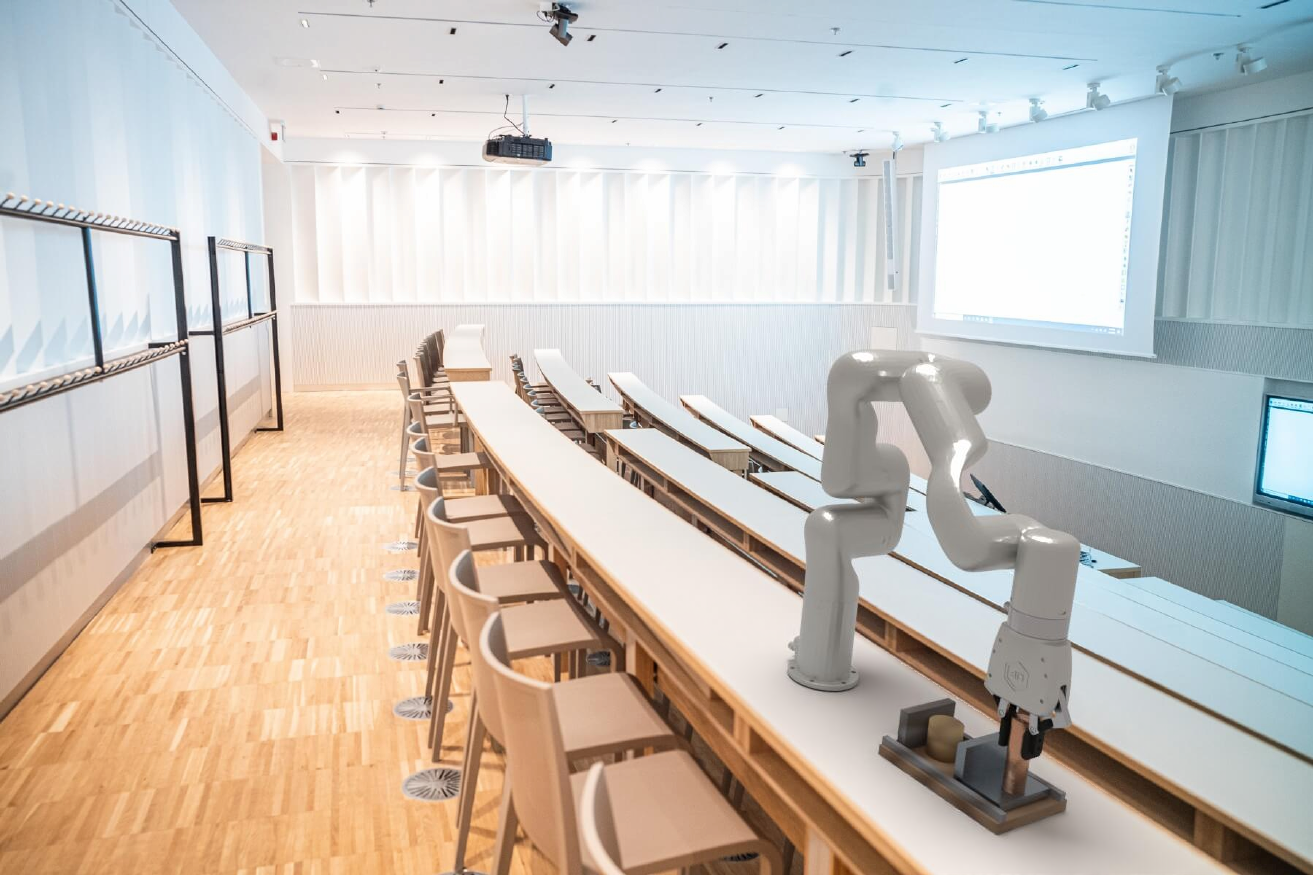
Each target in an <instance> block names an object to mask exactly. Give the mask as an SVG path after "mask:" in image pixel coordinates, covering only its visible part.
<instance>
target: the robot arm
mask: <svg viewBox="0 0 1313 875" xmlns="http://www.w3.org/2000/svg"><path fill="white" fill-rule="evenodd" d="M992 389H993V388H992V385H991V381H990V379H989V377H988V375H987V374H986V372H985V371H984V370H983V369H982V367H980V366H978V365H977V364H975V363H973V362H970V361H965V360H962V359H957V358H952V357H949V356H946V355H945V356H944V355H941V354H937V353H933V352H928V351H921V350H920V351H919V350H901V349H900V350H895V349H884V348H883V349H879V348H877V349H876V348H872V349H871V348H870V349H867V348H866V349H858V350H852V351H848V352H846V353H844V354H842V355H841V356H839V357H838V358H836V360H835V361H834V362H833V364H832V365H831V368H830V370H829V373H828V376H827V381H826V402H827V424H826V430H825V436H824V442H823V443H824V445H823V453H822V459H821V465H820V466H821V468H820V484H821V488H822V490H823V491H824V492H825V494H827V495H828V496H829V497H832V498H834V499H840V500H841V499H842V500H844V499H845V500H847V499H848V500H851V499H853V500H857V499H865V501H864V502H861V503H860V502H858V503H856V502H855V503H853V502H851V503H850V502H849V503H835V504H828V505H824V506H819V507H817V508H816V509H814V510H812V511H811V512H810V513H809V515H808V516H807V517H806V519H805V523H804V526H803V529H804V530H803V537H804V545H805V546H804V547H805V548H804V549H805V576H804V578H805V579H804V586H803V587H804V588H803V598H802V607H801V608H802V609H801V619H800V629H799V635H797V636H795V638H794V639H793V641H789V642H788V644H787V648H789V649H790V650H791V651H793V652H794V658H793V659H791V660H790V661H789V662H788V664H787V670H786V671H787V674H788V675H789V677H790V678H791V679H792V680H794V681H795V682H796V683H798V684H800V685H802V686H805V687H808V688H812V689H815V690H820V691H827V692H828V691H829V692H830V691H831V692H841V691H846V690H849V689H852V688H854V687H855V686H857V685H858V684H859V677H860V675H859V672H858V671H857V669H856V668H855V667H853V665H852V660H853V650H854V644H855V642H854V641H855V633H856V632H855V631H856V625H857V615H858V607H859V606H858V605H859V597H860V580H859V576H858V574H857V572H856V570H855V568H854V566H853V564H852V560H853V559H854V560H855V559H860V558H867V557H868V558H869V557H877V556H879V557H880V556H885V555H887V554H890V553H892V552H893V551H894V550H895V549H896V548H897V547H898V545H899V543H900V541H901V538H902V534H903V528H904V523H905V516H906V511H907V510H906V508H907V503H908V499H909V498H908V496H909V491H910V483H911V470H910V464H909V460H908V458H907V456H906V455H905V453H904V452H903V450H902V449H901V448H900V447H898V446H896V444H892V443H888V442H887V443H886V442H877V436H878V431H879V420H878V416H877V412H876V410H875V408H874V406H873V404H872V402H888V403H902V404H903V405H904V408H905V411H906V413H907V415H908V417H909V419H910V422H911V424H912V426H913V427H914V429H915V432H916V434H917V435H918V438H919V440H920V442H921V445H922V446H923V449H924V451H925V453H926V455H927V457H928V459H929V462H930V465H931V470H930V473H929V476H928V479H927V482H926V484H927V485H926V488H925V489H926V491H925V492H926V493H925V505H926V506H925V508H926V514H927V518H928V520H929V524H930V526H931V528H932V531H933V533H934V535H935V537H936V539H937V541H938V544H939V546H940V548H941V550H942V552H943V553H944V555H945V556H946V557H947V559H948V560H949V561H950V563H951V564H953V566H954V567H956V568H958V569H959V570H961V571H963V572H967V573H981V572H982V573H983V572H992V571H1000V570H1014V571H1013V578H1012V583H1011V584H1012V585H1011V591H1010V600H1009V601H1007V600H1006V601H1005V602H1004V604H1003V610H1004V611H1006V612H1007V620H1005V621H1003V622H1001V624H1000V627H999V628H998V631H997V634H996V636H995V639H994V641H993V642H994V643H993V645H992V649H991V653H990V657H989V661H988V665H987V672H986V679H985V680H984V682H983V686H984V687H985V688H986V690H987V691H988V692H989V693H990V695H991V696H992V698H993V700H994V702H995V705H996V706H997V715H998V717H1000V723H999V725H1000V726H999V729H998V730H999V731H998V732H999V741H998V745H1000V746H1002V747H1005V746H1008V739H1009V732H1010V725H1011V718H1012V715H1013V714H1019V709H1021V710H1024V711H1025V712H1027V713H1029V716H1030V721H1029V730H1028V731H1025V733H1024V739H1023V746H1022V752H1021V757H1022V759H1024V760H1030V761H1031V760H1034V759H1036V758H1039V757H1040V756H1041V754H1042V753H1043V748H1044V741H1045V735H1046V732H1049V731H1050V730H1053V729H1063V728H1067V727H1068V728H1069V727H1071V726H1072V724H1073V722H1072V718H1071V715H1070V711H1069V707H1068V706H1069V701H1070V695H1071V687H1072V677H1073V676H1072V674H1073V673H1072V672H1073V651H1072V650H1073V649H1072V643H1071V640H1070V639H1068V637H1069V636H1068V635H1069V630H1070V625H1071V624H1070V623H1071V618H1072V612H1073V604H1074V598H1075V592H1076V587H1077V586H1076V583H1077V578H1078V573H1079V572H1078V571H1079V566H1080V560H1081V554H1082V553H1081V552H1082V548H1081V543H1080V541H1079V540H1078V538H1077V537H1075V536H1074V535H1073V534H1070V533H1068V532H1066V531H1063V530H1057V529H1052V528H1049V527H1048V526H1045V524H1043V523H1041V522H1039V521H1037V520H1036V519H1034V518H1033V517H1031V516H1027V515H1025V514H1020V513H1008V514H1007V513H1006V514H1005V513H1004V514H987V515H974V512H972V509H971V508H970V505H969V503H968V501H967V499H966V495H965V494H964V490H963V486H962V476H963V472H964V471H966V470H968V469H970V467H972V466H973V465H975V464H976V463H978V462H979V461H981V459H983V458H984V457H985V455H986V454H987V451H988V449H989V440H988V438H987V436H986V435H985V432H984V431H983V429H982V427H981V425H980V423H979V422H978V419H977V417H976V416H977V415H979V414H982V413H983V412H984V411H986V409H987V408H988V407H989V404H990V402H991V400H992V396H993V395H992V394H993V392H992ZM1053 713H1054V714H1055V715H1054V716H1052V715H1053Z"/></svg>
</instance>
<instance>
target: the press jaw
mask: <svg viewBox="0 0 1313 875" xmlns="http://www.w3.org/2000/svg"><path fill="white" fill-rule="evenodd" d="M1029 721H1030V715H1027V714H1024V713H1017V714H1013V715H1012V718H1011V725H1010V732H1009V739H1008V746H1005V747H1002V746H1000V745H998V741H999V731H996V732H992V733H988V734H985V735H982V736H981V735H980V736H977V737H973V738H974V739H970V740H967V741H963V742H959V743H958V747H957V754H956V761H955V769H954V776H953V778H954V779H955V780H957V781H958V782H960V783H961V784H963V785H964V786H966V787H967V788H969V789H970V790H972V791H974V792H975V793H977V794H978V795H980V796H981V797H983V798H984V799H986V800H987V801H989V802H990V803H992V804H993V805H995V806H996V807H998V808H999V809H1001V810H1002V811H1007V810H1010V809H1013V808H1016V807H1018V806H1021V805H1024V804H1027V803H1030V802H1033V801H1036V800H1039V799H1042V798H1045V797H1048V796H1049V790H1050V788H1048V787H1047V786H1045V785H1043V784H1042V783H1040V782H1038V781H1037V780H1035V779H1033V778H1032V777H1030V776H1028V771H1029V768H1030V761H1031V759H1030V760H1024V759H1022V757H1021V752H1022V746H1023V739H1024V733H1025V731H1028V730H1029Z"/></svg>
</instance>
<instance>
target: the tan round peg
mask: <svg viewBox="0 0 1313 875" xmlns="http://www.w3.org/2000/svg"><path fill="white" fill-rule="evenodd" d="M964 733H965V724H964V723H963V722H962V721H961V720H960V719H958V718H956V717H954V718H953V717H950V716H946V715H934V716H932V717H930V719H929V726H928V734H927V741H926V749H925V752H926V754H927V755H928V756H929V757H930V758H932V759H934V760H936V761H939V762H944V763H955V761H956V754H957V747H958V743H959V742H963V735H964Z"/></svg>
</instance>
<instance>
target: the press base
mask: <svg viewBox="0 0 1313 875" xmlns="http://www.w3.org/2000/svg"><path fill="white" fill-rule="evenodd" d="M956 703H957V702H956V701H955V700H953V699H951V698H950V697H946V698H942V699H938V700H934V701H930V702H925V703H921V704H918V705H913V706H909V707H904V708H902V709H901V708H900V713H899V721H898V730H897V737H896V739H894V738H893V737H892V736H890V735H888V734H887V735H883V736H882V737H881V739H882V740H881V743H879V744H878V752H877V753H878V755H880V757H883V758H884V759H885V760H887V761H888V762H890V763H891V764H893V765H894V766H896V767H897V768H899V770H902V772H904V773H906V774H908V775H909V776H910V777H912V778H913V779H914V780H916V781H917V782H919V783H920V784H922V785H924V786H925V787H926V788H928V789H929V790H930V791H932V792H933V793H935V794H936V795H938V796H939V797H941V798H942V799H943V800H945V801H946V802H948V803H949V804H950V805H952V806H953V807H954V808H957V809H958V810H960V811H961V812H963V814H965V815H967V816H968V817H970V818H971V819H973V820H974V822H977V823H978V824H979V825H982V827H984V828H985V829H987V830H988V831H989V832H991V833H992V834H994V835H997V836H998V835H1000V834H1002V833H1005V832H1007V831H1011V830H1013V829H1017V828H1020V827H1021V826H1024V825H1027V824H1030V823H1033V822H1036V821H1038V820H1041V819H1045V818H1046V817H1049V816H1051V815H1055V814H1058V813H1061V812H1064V811H1066V808H1067V802H1068V800H1067V799H1066V796H1067V793H1066V792H1065V790H1062V789H1060V788H1059V787H1057V786H1055V785H1054V784H1052V783H1050V782H1049V781H1047V780H1045V779H1044V778H1042V777H1040V776H1039V775H1037V774H1035V773H1033V772H1032V771H1030V770H1028V776H1030V777H1032V778H1033V779H1035V780H1037V781H1038V782H1040V783H1042V784H1043V785H1045V786H1047V787H1048V788H1050V790H1049V796H1048V797H1045V798H1042V799H1039V800H1036V801H1033V802H1030V803H1027V804H1024V805H1021V806H1018V807H1016V808H1013V809H1010V810H1007V811H1002V810H1001V809H999V808H998V807H996V806H995V805H993V804H992V803H990V802H989V801H987V800H986V799H984V798H983V797H981V796H980V795H978V794H977V793H975V792H974V791H972V790H970V789H969V788H967V787H966V786H964V785H963V784H961V783H960V782H958V781H957V780H955V779H954V778H953V776H954V769H955V763H944V762H939V761H936V760H934V759H932V758H930V757H929V756H928V755H927V754H926V752H925V749H926V741H927V734H928V726H929V719H930V717H932V716H934V715H946V716H950V717H953V718H955V711H956V705H957V704H956ZM974 738H975V737H972V736H971V735H969V734H968V733H966V732H964V735H963V741H967V740H970V739H974Z"/></svg>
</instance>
